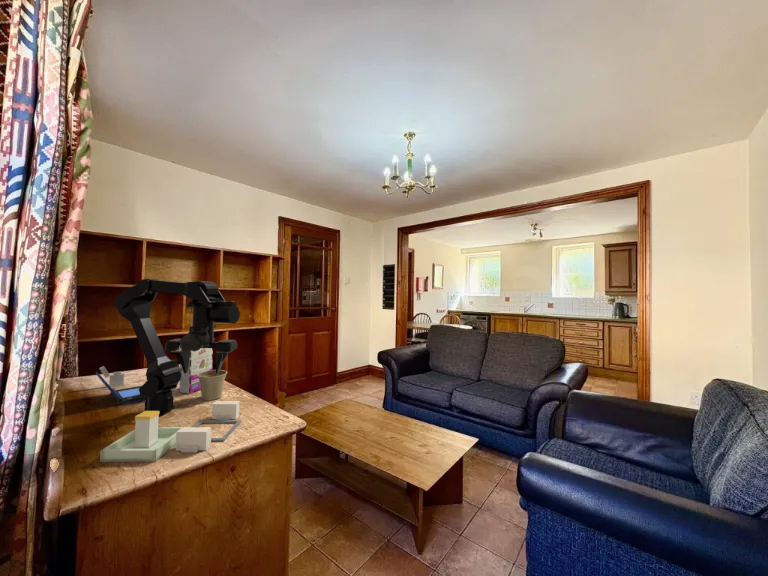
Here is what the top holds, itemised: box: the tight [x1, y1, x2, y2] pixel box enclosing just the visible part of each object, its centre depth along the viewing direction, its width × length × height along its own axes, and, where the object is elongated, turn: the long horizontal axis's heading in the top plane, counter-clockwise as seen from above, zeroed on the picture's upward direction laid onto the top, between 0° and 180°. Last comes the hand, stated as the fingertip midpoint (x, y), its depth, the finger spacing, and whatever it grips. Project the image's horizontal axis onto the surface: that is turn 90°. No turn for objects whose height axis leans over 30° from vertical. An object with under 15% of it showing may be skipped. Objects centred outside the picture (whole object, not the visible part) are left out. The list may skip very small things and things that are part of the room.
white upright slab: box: [99, 365, 125, 388], centre depth 118 cm, size 7×2×8 cm, turn 133°
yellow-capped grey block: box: [134, 411, 159, 449], centre depth 75 cm, size 3×3×8 cm
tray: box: [99, 426, 183, 463], centre depth 75 cm, size 12×12×2 cm
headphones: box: [175, 400, 242, 453], centre depth 85 cm, size 12×22×4 cm, turn 4°
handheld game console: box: [95, 371, 145, 406], centre depth 107 cm, size 16×13×9 cm
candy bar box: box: [179, 345, 214, 395], centre depth 118 cm, size 11×5×16 cm, turn 168°
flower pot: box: [197, 369, 228, 401], centre depth 110 cm, size 9×9×9 cm
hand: (201, 373), depth 94 cm, fingers open, 9 cm apart
